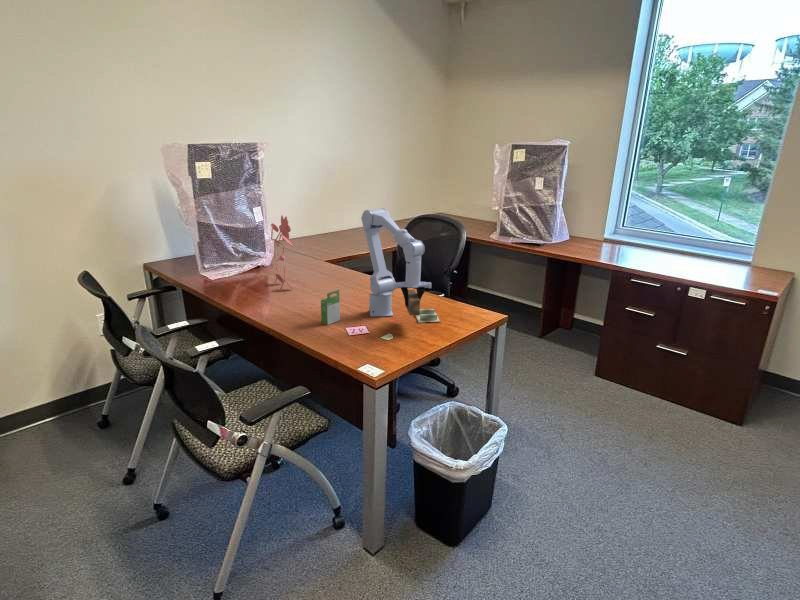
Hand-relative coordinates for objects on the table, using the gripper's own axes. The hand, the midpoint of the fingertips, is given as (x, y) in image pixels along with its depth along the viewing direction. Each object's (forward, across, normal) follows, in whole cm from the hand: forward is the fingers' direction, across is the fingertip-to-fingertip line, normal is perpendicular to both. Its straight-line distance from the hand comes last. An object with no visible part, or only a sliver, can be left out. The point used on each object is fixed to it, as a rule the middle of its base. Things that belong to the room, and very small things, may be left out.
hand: (412, 305), depth 189 cm
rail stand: (+9, +8, +8) cm, 14 cm away
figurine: (+9, -52, +55) cm, 76 cm away
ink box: (+9, -32, +7) cm, 34 cm away
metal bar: (+2, 0, 0) cm, 2 cm away
